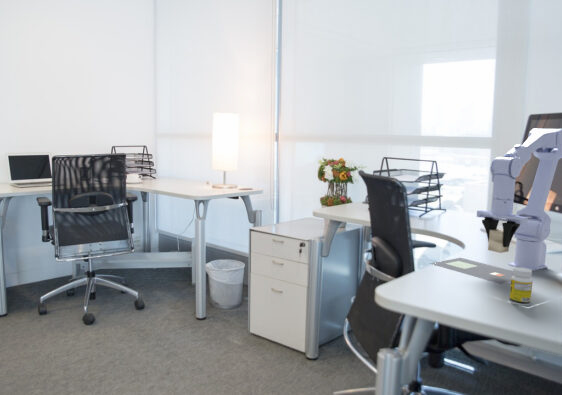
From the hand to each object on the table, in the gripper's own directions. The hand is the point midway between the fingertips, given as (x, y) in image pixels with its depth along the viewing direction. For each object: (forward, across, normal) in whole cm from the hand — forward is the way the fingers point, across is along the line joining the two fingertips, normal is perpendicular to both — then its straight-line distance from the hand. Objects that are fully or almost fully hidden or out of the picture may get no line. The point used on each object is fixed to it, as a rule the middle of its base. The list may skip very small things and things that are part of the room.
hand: (498, 245), depth 143 cm
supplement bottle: (+9, +17, -18) cm, 27 cm away
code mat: (+9, -6, 0) cm, 11 cm away
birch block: (+2, 0, 0) cm, 2 cm away
